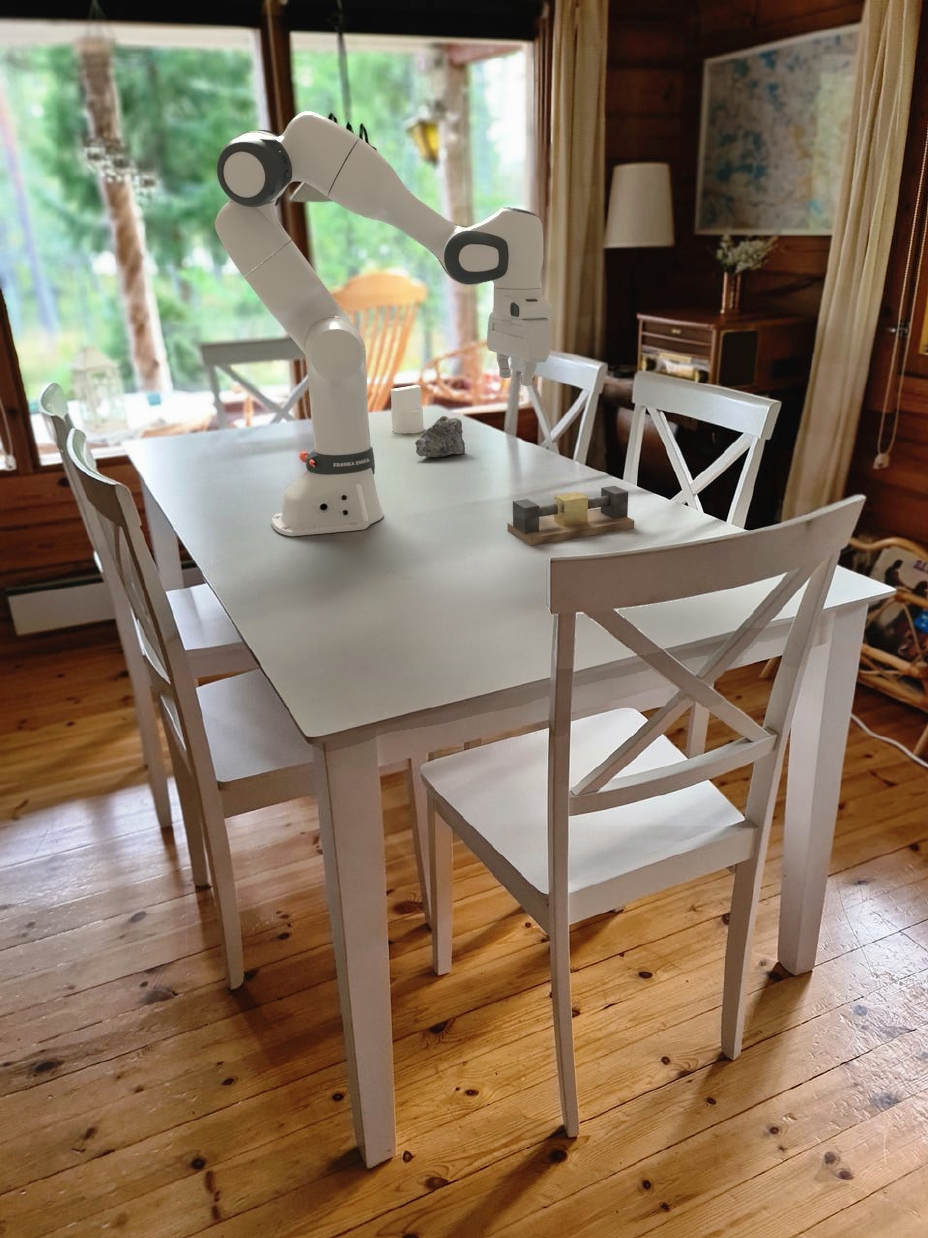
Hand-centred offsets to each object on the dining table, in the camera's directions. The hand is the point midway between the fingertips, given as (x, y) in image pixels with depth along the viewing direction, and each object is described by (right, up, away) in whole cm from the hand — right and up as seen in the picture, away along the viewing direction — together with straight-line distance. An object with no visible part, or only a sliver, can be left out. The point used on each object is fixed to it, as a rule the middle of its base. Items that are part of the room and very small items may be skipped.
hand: (515, 381), depth 175 cm
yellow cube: (+11, -26, +2) cm, 29 cm away
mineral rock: (-16, -4, +61) cm, 63 cm away
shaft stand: (+11, -28, +2) cm, 30 cm away
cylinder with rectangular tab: (-26, +9, +90) cm, 94 cm away
